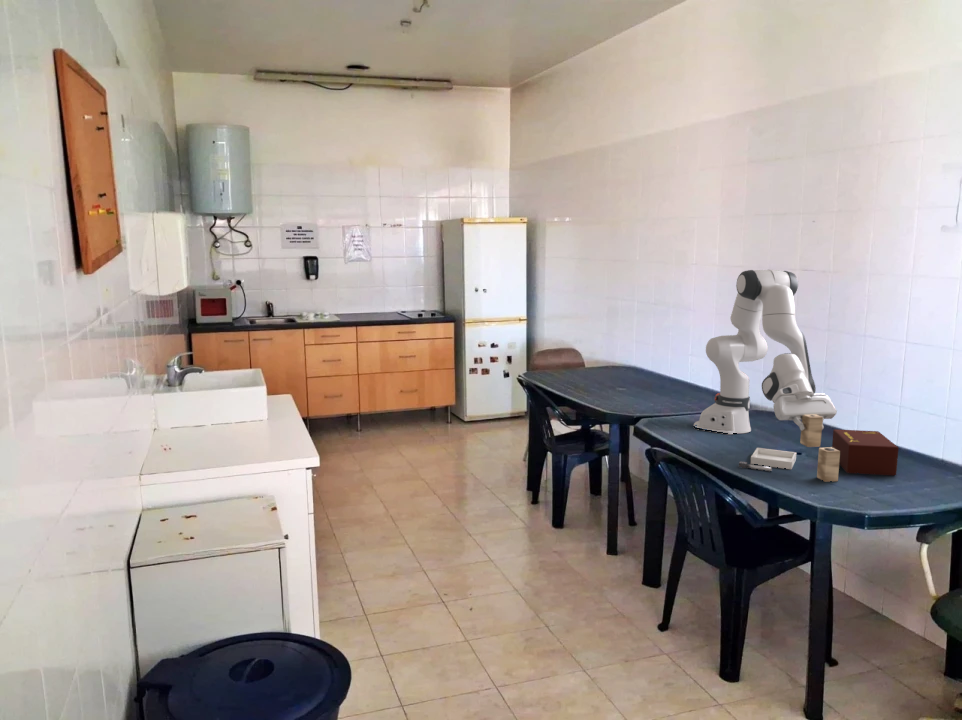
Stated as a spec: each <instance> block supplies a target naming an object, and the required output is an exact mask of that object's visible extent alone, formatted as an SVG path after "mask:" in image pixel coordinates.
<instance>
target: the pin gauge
mask: <svg viewBox="0 0 962 720" xmlns="http://www.w3.org/2000/svg"><path fill="white" fill-rule="evenodd" d="M739 467H742V468H741V469H743V468H746V469H748V468H751V469H750V470H756V469H758V470H757V471H763V470H765V471H764V472H770V471H773V467H769V466H762V465H754V464H751V463H750V464H748V461H747V462H746V461H739V462H738V468H739Z"/></svg>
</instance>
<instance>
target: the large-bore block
mask: <svg viewBox="0 0 962 720" xmlns="http://www.w3.org/2000/svg"><path fill="white" fill-rule="evenodd" d="M839 460H840V451H839V450H837V449H835V448H832V446H830V447H819V448H818V456H817V469H816V471H817V472H816V478H817V479H819V480H821V481H822V480H823V482H824V483H825V482H830V481H832V482H838V481H839V471H840V470H839V469H840V464H839Z"/></svg>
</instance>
